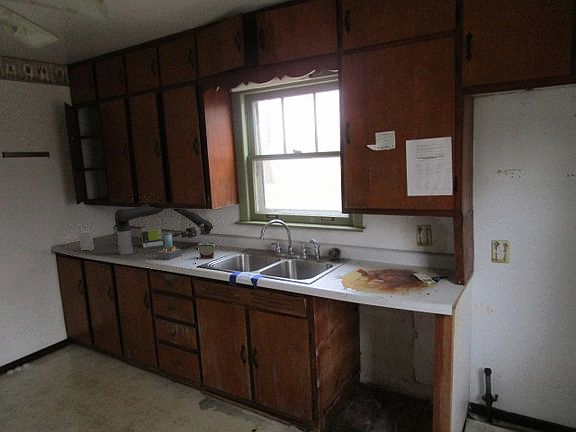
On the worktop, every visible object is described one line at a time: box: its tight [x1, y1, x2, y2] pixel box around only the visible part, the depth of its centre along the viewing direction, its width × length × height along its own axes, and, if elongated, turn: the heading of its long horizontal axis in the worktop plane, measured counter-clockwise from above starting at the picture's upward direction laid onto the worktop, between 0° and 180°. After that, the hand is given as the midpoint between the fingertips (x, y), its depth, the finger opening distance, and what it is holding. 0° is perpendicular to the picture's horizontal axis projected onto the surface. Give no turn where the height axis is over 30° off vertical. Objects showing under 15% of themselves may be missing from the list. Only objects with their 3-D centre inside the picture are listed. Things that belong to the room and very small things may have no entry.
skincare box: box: [77, 230, 95, 251], centre depth 309 cm, size 8×6×15 cm
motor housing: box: [156, 246, 183, 261], centre depth 273 cm, size 11×12×6 cm
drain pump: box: [163, 232, 174, 251], centre depth 272 cm, size 5×5×12 cm
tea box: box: [140, 225, 164, 248], centre depth 315 cm, size 15×10×15 cm, turn 115°
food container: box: [197, 241, 216, 260], centre depth 266 cm, size 12×6×10 cm, turn 74°
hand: (177, 236), depth 279 cm, fingers open, 8 cm apart
